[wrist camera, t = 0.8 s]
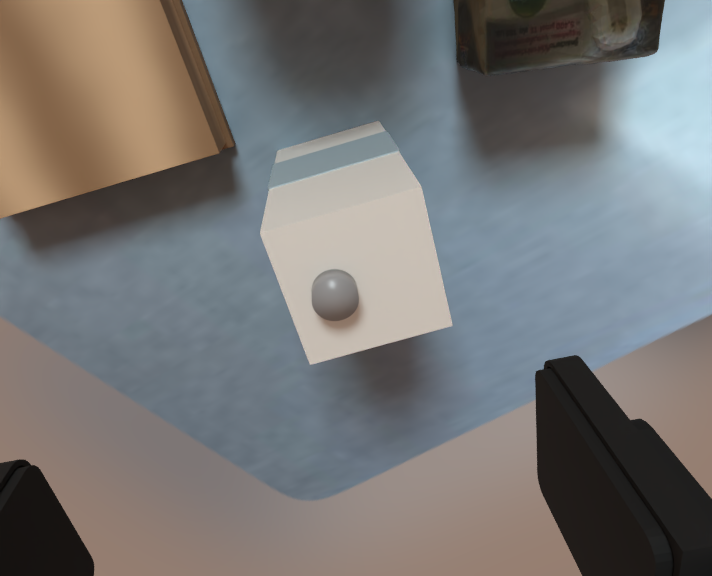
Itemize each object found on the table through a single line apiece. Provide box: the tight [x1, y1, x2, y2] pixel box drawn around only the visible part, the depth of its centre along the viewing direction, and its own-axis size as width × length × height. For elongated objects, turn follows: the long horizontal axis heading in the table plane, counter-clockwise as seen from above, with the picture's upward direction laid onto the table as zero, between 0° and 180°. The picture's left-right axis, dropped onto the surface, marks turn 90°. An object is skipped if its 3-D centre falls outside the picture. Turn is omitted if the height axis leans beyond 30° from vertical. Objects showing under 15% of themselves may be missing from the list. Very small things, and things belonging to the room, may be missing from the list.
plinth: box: [0, 0, 235, 218], centre depth 25 cm, size 13×13×3 cm
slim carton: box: [260, 121, 453, 365], centre depth 24 cm, size 6×6×13 cm
